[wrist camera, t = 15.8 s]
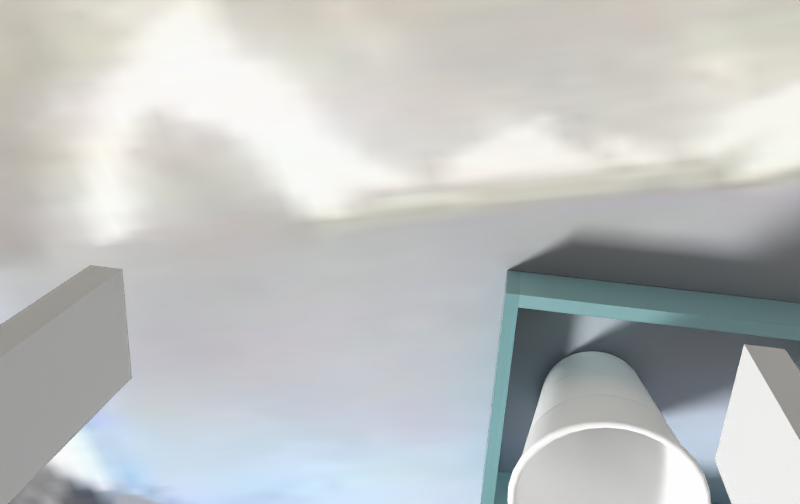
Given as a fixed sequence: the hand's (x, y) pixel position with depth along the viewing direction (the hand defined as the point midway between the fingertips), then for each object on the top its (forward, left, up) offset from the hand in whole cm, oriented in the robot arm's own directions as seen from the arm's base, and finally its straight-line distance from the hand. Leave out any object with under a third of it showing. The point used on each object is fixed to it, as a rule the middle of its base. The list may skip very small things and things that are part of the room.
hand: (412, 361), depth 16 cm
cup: (+17, +8, -29) cm, 34 cm away
